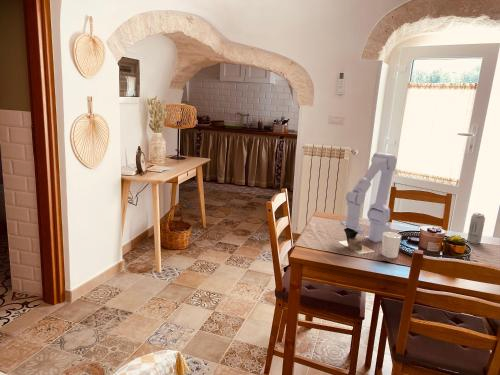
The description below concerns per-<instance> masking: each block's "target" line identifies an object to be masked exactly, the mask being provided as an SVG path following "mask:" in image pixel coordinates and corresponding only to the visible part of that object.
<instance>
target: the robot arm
mask: <svg viewBox="0 0 500 375" xmlns="http://www.w3.org/2000/svg"><path fill="white" fill-rule="evenodd" d="M370 160H371V164H370V166H369V167H368V170H367V171H366V173H365V175H364V177H361V178H360V179H359V180H358V182H357V183H356V184H355V186H354V187H353V188H352V190H350V191H349V192H347V194H346V196H345V200H346V206H347V211H346V218H345V220H341V221H340V225H341V226H343V227H344V229H343V231H344V233H345V237H346V240H347V243H348V242H349V238H356V237H357V235H358V234H359V235H364V232H365V230H364V229H363V228H362V227H361V226H359V221H360V215H361V207H362V204H363V203H364V201H365V199H366V193H367V192H368V190H369V189H370V188H371V187H372V182H371V181H372V180H373V179H374V177H375V176H376V175H377V174H378V173H379V172H380V178H379V183H378V188H377V192H376V196H375V197H376V198H375V202H374V203H372V204H370V206H369V209H368V211H367V214H366V216H367V219H368V221H369V229H368V235H365V236H364V237H365V238H366V239H368V240H370V241H371V242H375V243H377V242H382V239H383V233H384V232H390V224H389V221H390V220H391V208H390V207H389V206H388V205H387V202H388V198H389V192H390V188H391V183H392V178H393V174H394V172H395V170H396V165H397V161H398V160H397V157H396V155H395V154H394V153H393V154H390V153H385V152H384V153H383V152H379V151H377V152H376V151H375V153H374V154H373V155H372V157H371V159H370Z"/></svg>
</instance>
